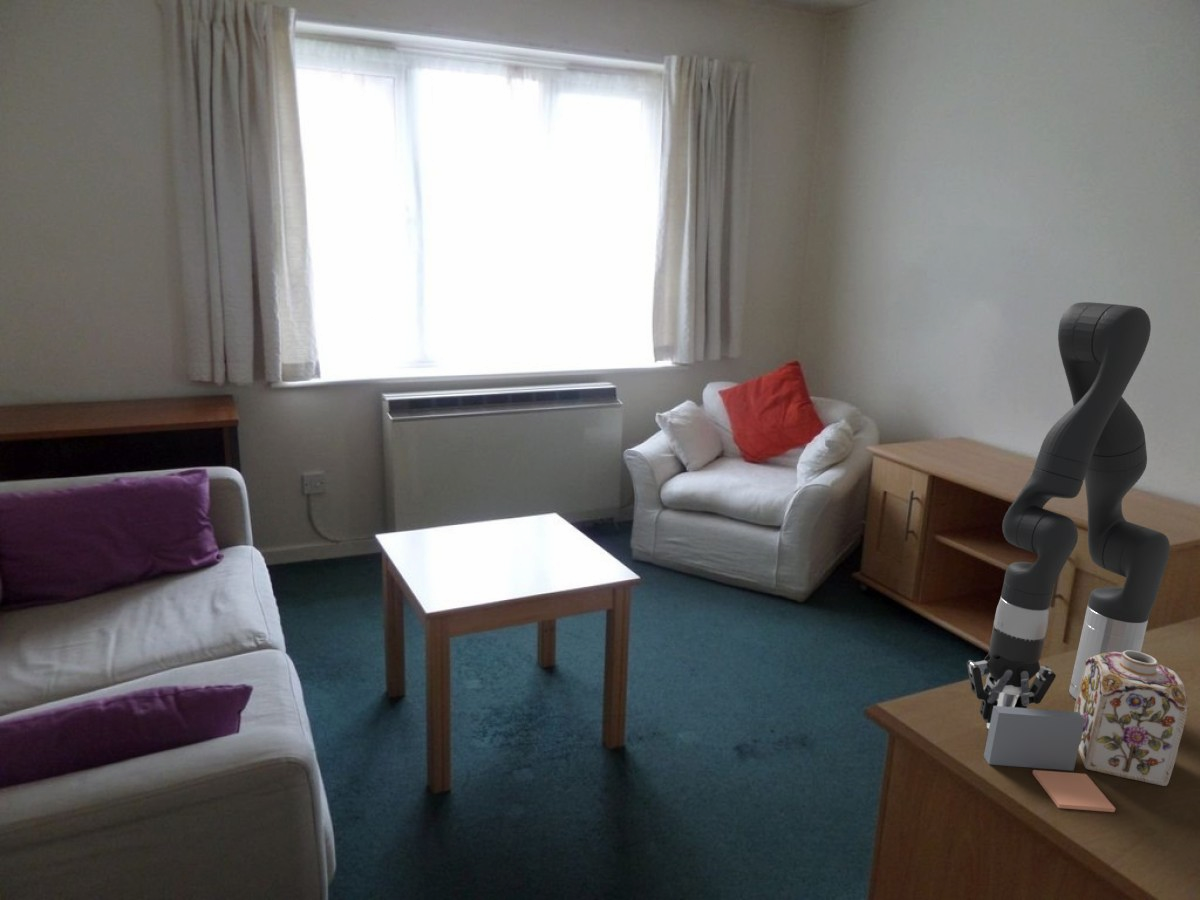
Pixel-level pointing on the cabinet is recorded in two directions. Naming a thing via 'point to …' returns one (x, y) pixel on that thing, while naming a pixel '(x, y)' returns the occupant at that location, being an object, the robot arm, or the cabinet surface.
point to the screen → (1034, 738)
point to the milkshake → (1007, 697)
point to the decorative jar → (1131, 716)
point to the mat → (1073, 791)
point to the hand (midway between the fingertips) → (1000, 721)
